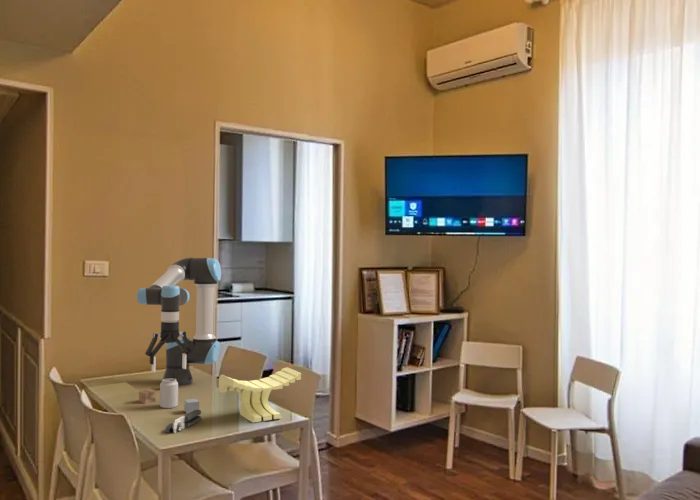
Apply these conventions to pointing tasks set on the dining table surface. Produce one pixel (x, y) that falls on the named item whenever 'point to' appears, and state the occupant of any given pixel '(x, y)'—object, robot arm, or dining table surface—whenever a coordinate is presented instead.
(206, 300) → the robot arm
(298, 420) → the dining table surface
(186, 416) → the can opener
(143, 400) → the walnut block
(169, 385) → the can
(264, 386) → the slatted curved stool
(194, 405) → the slate grey block
